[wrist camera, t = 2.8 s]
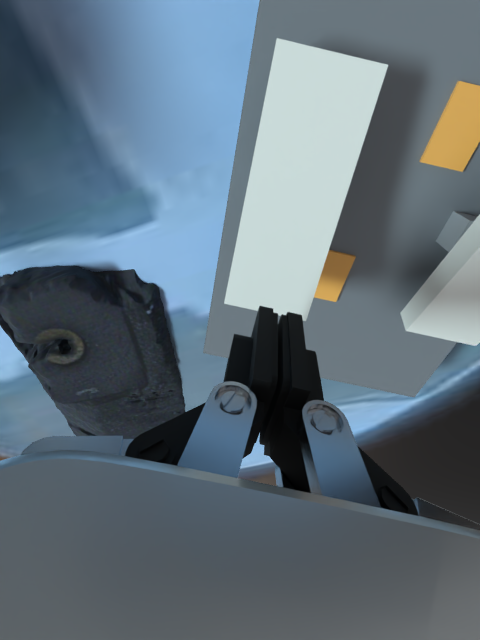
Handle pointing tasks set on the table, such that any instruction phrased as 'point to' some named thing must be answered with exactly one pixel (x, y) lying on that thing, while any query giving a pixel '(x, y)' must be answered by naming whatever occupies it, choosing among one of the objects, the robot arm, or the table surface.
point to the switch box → (375, 181)
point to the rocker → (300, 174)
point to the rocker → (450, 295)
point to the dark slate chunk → (95, 346)
